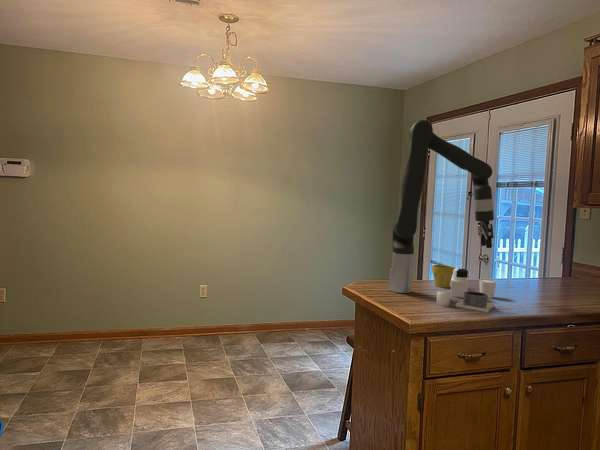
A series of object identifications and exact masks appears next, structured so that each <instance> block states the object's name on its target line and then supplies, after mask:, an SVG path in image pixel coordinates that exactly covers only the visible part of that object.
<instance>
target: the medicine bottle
mask: <svg viewBox="0 0 600 450" xmlns="http://www.w3.org/2000/svg"><path fill="white" fill-rule="evenodd" d="M468 274H469V271H468V270H467V269H466V268H454V270H453V275H452V278H451V282H450V290H449V291H450V292H449V293H450V298H459V299H461V298H462V299H464V292H467V291H469V286H470V285H469V283H470V282H469V279H468V276H469V275H468Z"/></svg>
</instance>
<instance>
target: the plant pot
mask: <svg viewBox="0 0 600 450" xmlns="http://www.w3.org/2000/svg"><path fill="white" fill-rule="evenodd" d="M454 269H455V267H454V266H451V265H446V264H432V265H431V273H432V275H433V281H434V286H435V287H438V288H450V287H451V279H452V278H453V270H454Z"/></svg>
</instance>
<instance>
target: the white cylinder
mask: <svg viewBox="0 0 600 450" xmlns="http://www.w3.org/2000/svg"><path fill="white" fill-rule="evenodd" d="M478 283H479V285H478V286H479V292H481V293H485V294H487V295H488V299H493V298H494V296H495V295H494V294H495V289H496V284H497V282H496V281H493V280H489V279H479V282H478Z"/></svg>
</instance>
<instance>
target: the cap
mask: <svg viewBox="0 0 600 450" xmlns="http://www.w3.org/2000/svg"><path fill="white" fill-rule="evenodd" d="M450 301H451V296H450V292H449V291H446V290H445V291H444V290H443V291H442V290H438V291H436V306H439V305H440V307H450V304H451V302H450Z"/></svg>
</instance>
